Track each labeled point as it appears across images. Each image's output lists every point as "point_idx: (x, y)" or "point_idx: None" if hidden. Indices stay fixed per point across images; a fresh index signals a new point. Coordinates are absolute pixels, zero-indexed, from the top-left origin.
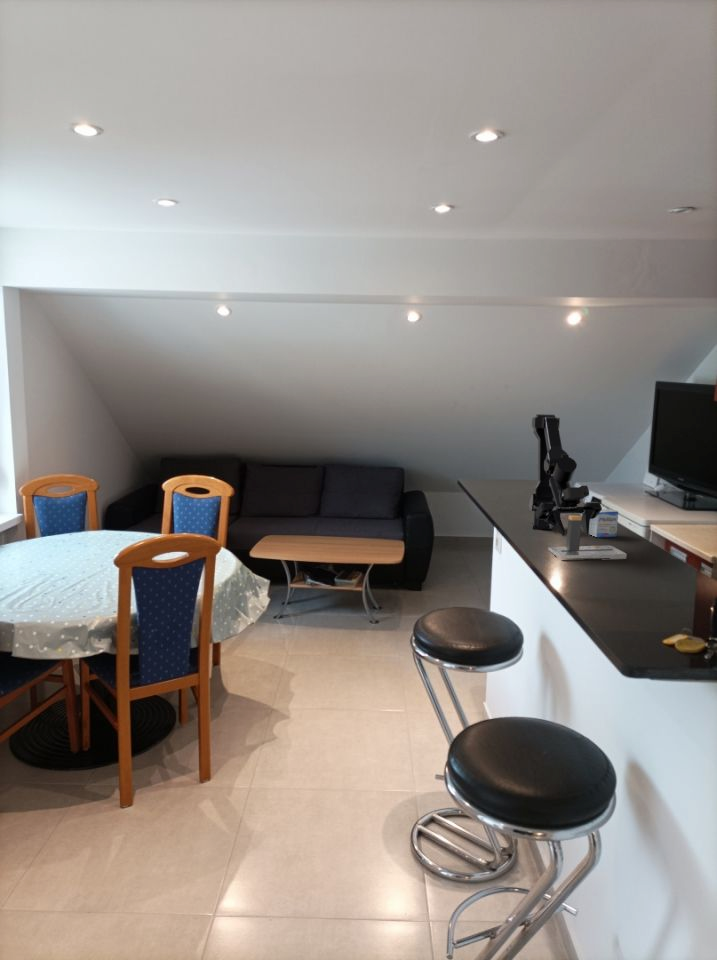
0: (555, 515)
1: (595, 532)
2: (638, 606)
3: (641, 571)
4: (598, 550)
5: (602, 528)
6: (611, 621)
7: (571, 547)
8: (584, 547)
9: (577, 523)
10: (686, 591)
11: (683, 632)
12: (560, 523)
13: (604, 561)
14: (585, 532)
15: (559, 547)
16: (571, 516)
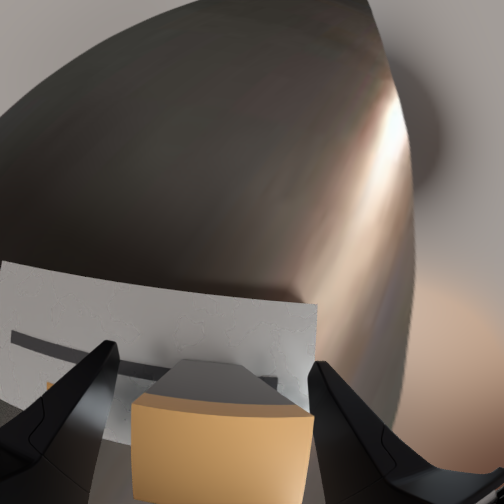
0: (448, 473)
1: None
2: (279, 12)
3: (81, 129)
4: (70, 348)
5: None
6: (346, 13)
7: (232, 365)
8: (111, 417)
9: (201, 390)
10: (124, 30)
11: None
12: (373, 430)
13: (110, 255)
14: (112, 377)
15: None
16: (295, 453)
